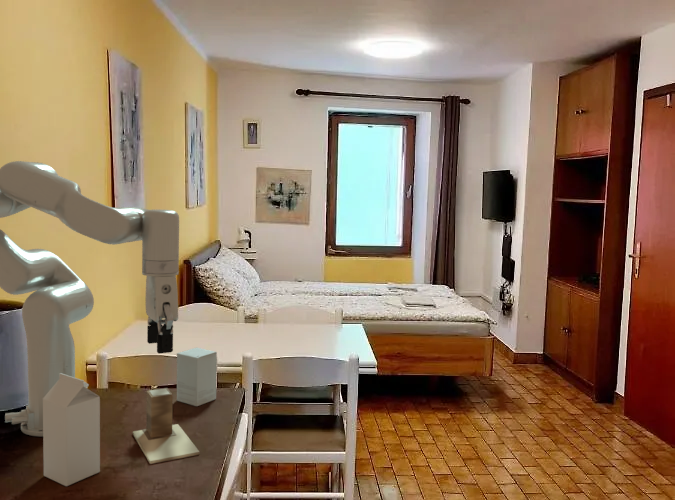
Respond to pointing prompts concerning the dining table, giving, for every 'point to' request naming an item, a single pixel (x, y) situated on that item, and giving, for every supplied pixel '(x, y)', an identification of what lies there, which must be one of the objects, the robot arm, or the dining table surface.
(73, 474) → the milk carton
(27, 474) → the dining table surface
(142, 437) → the board
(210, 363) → the supplement box
